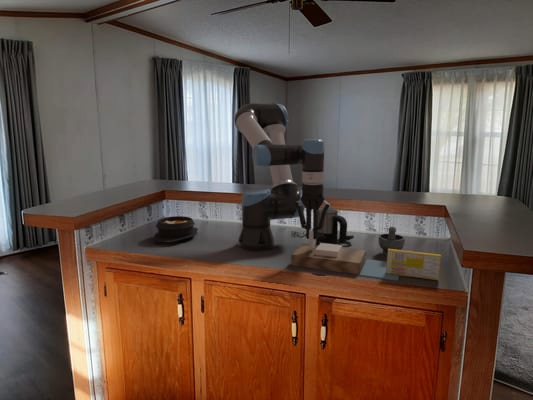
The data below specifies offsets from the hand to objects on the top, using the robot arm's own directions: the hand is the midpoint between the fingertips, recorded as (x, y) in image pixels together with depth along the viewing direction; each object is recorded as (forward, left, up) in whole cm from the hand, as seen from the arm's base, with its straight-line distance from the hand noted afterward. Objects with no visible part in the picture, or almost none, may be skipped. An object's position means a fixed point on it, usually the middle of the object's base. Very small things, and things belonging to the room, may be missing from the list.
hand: (311, 247), depth 139 cm
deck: (+6, 0, -5) cm, 8 cm away
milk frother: (+3, +24, -6) cm, 25 cm away
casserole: (-65, +7, -6) cm, 65 cm away
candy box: (+34, -2, -5) cm, 35 cm away
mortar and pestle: (+26, +18, -6) cm, 33 cm away
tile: (+6, 0, -1) cm, 6 cm away
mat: (+25, 0, -5) cm, 25 cm away
